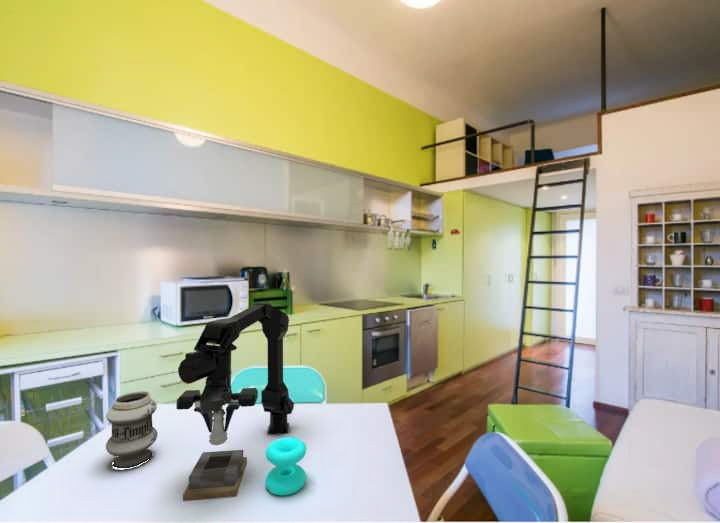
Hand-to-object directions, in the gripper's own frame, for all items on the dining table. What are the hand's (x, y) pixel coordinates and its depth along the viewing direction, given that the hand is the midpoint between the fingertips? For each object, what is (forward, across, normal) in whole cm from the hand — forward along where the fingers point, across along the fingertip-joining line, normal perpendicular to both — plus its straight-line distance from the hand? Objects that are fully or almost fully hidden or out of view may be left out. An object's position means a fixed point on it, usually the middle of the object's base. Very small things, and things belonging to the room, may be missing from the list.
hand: (218, 431), depth 88 cm
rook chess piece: (+3, 0, 0) cm, 3 cm away
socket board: (+12, 0, 0) cm, 12 cm away
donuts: (+13, +18, -4) cm, 22 cm away
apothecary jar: (+13, -26, +12) cm, 31 cm away
